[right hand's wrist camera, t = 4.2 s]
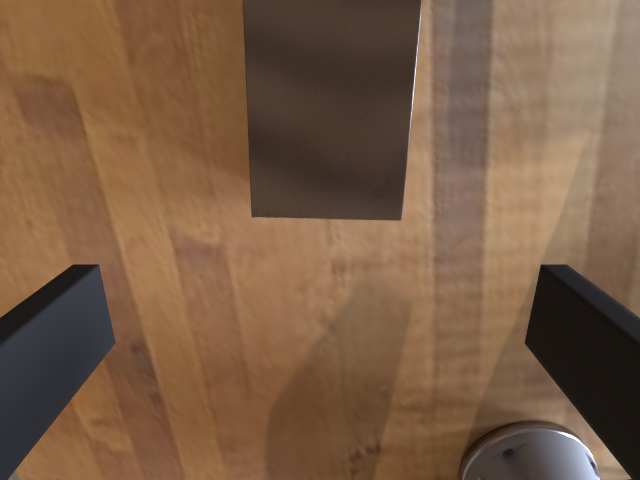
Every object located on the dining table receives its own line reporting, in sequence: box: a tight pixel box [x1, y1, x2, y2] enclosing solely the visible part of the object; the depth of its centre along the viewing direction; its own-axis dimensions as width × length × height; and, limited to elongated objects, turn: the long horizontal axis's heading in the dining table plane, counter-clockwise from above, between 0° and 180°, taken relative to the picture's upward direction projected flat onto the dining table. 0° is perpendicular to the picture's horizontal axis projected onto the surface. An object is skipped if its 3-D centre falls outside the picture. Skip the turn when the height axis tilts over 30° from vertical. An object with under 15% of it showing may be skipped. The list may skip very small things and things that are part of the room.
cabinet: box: [243, 0, 422, 220], centre depth 30 cm, size 21×11×9 cm, turn 179°
